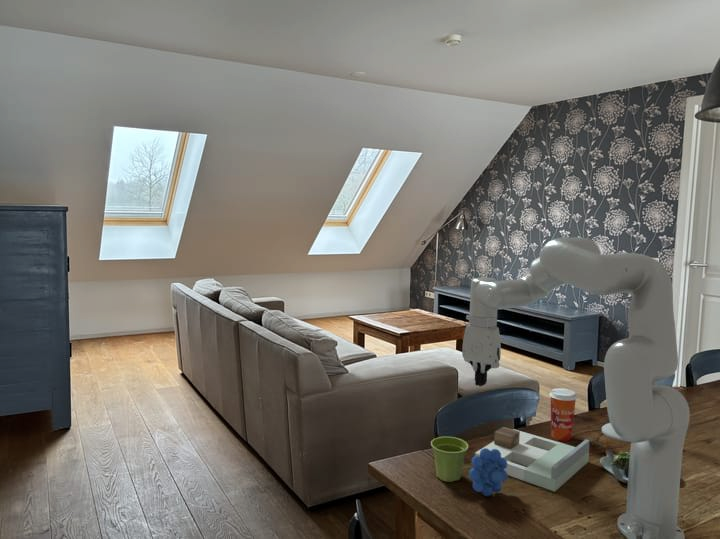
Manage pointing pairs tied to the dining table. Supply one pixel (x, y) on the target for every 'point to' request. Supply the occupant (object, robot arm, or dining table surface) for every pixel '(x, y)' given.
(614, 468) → the salad plate
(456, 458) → the plant pot
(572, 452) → the white compartment tray
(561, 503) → the dining table surface
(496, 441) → the block
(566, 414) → the paper cup
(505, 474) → the grapes
